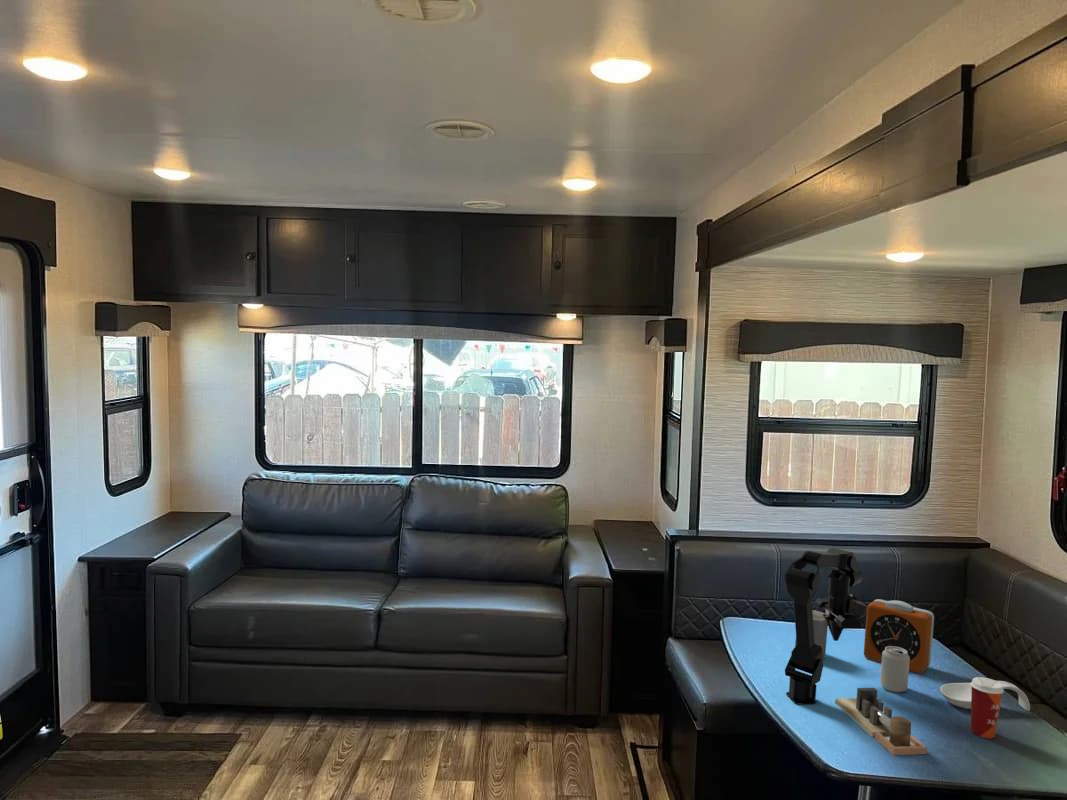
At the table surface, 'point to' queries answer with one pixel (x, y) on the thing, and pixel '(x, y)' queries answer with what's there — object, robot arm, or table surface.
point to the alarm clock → (899, 632)
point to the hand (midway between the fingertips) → (835, 640)
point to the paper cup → (985, 706)
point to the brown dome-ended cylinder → (900, 731)
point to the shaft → (871, 704)
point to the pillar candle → (819, 630)
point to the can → (895, 669)
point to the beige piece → (866, 715)
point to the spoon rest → (962, 693)
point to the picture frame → (902, 750)
